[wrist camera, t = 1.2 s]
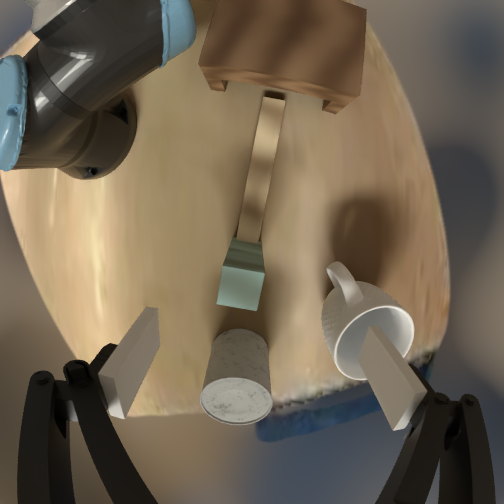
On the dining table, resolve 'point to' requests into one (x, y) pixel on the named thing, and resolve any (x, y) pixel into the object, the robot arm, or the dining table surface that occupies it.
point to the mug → (360, 319)
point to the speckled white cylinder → (237, 378)
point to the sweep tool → (252, 217)
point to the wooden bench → (288, 47)
